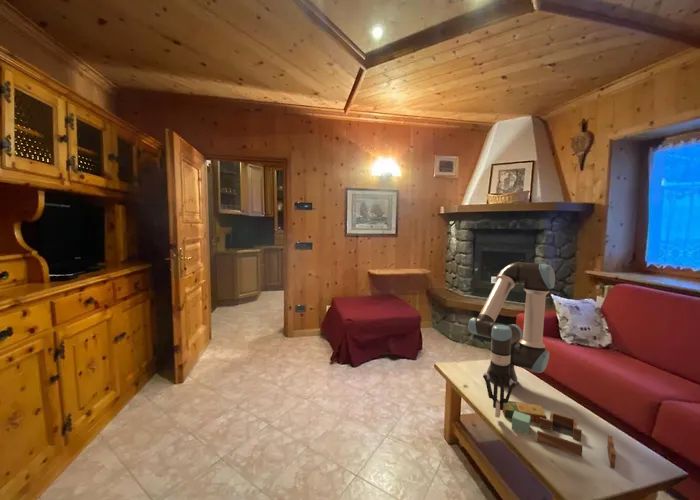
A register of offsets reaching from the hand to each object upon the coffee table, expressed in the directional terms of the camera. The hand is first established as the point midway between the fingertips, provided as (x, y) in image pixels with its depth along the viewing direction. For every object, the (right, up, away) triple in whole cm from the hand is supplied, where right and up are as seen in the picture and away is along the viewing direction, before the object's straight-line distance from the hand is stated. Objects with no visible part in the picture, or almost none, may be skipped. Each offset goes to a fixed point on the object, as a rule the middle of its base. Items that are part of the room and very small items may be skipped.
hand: (497, 415), depth 133 cm
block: (+7, -3, -5) cm, 9 cm away
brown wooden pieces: (+24, -3, -12) cm, 27 cm away
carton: (+13, -2, +4) cm, 13 cm away
